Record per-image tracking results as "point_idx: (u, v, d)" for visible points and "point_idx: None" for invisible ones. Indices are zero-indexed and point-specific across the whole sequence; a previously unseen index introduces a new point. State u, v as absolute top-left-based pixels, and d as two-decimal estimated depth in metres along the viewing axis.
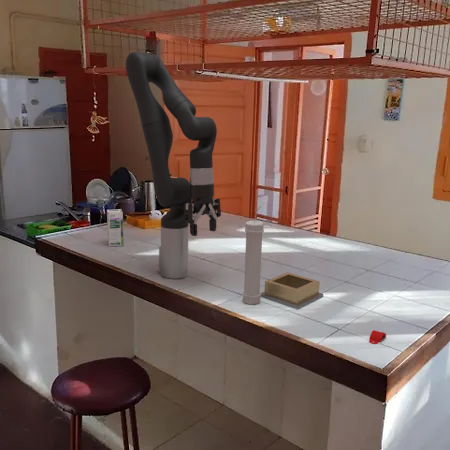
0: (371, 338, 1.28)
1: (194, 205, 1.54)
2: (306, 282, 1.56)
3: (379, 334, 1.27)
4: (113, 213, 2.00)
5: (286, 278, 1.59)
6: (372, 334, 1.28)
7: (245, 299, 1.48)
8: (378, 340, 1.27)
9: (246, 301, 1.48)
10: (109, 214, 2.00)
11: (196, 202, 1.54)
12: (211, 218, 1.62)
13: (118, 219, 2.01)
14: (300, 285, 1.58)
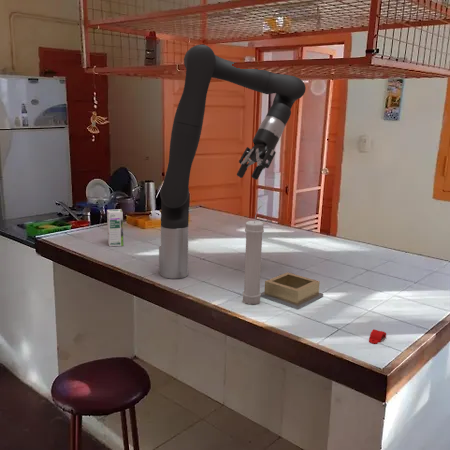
0: (371, 337, 1.28)
1: None
2: (306, 282, 1.56)
3: (379, 333, 1.27)
4: (113, 213, 2.00)
5: (286, 278, 1.59)
6: (372, 333, 1.28)
7: (245, 299, 1.48)
8: (378, 339, 1.27)
9: (246, 301, 1.48)
10: (109, 214, 2.00)
11: None
12: (244, 165, 1.64)
13: (118, 219, 2.01)
14: (300, 285, 1.58)
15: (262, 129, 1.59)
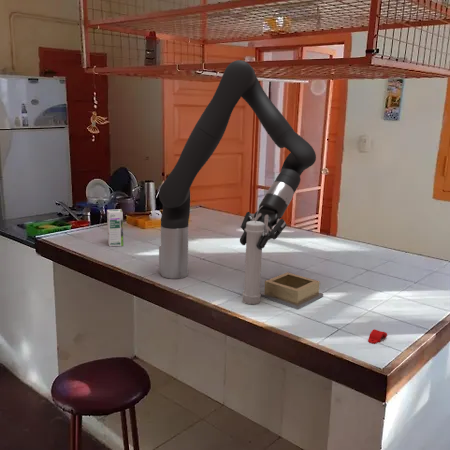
0: (371, 337, 1.28)
1: None
2: (306, 282, 1.56)
3: (379, 333, 1.27)
4: (113, 213, 2.00)
5: (286, 278, 1.59)
6: (372, 333, 1.28)
7: (245, 299, 1.48)
8: (377, 339, 1.27)
9: (246, 301, 1.48)
10: (109, 214, 2.00)
11: None
12: None
13: (118, 219, 2.01)
14: (300, 285, 1.58)
15: (274, 195, 1.47)
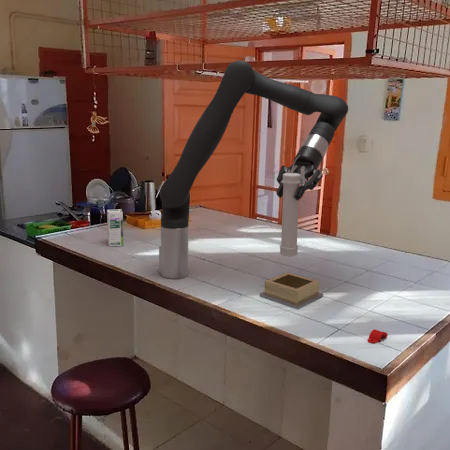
0: (370, 337, 1.28)
1: None
2: (306, 282, 1.56)
3: (379, 333, 1.27)
4: (113, 213, 2.00)
5: (286, 278, 1.59)
6: (372, 333, 1.28)
7: (283, 251, 1.49)
8: (377, 339, 1.27)
9: (284, 253, 1.49)
10: (109, 214, 2.00)
11: None
12: None
13: (118, 219, 2.01)
14: (300, 285, 1.58)
15: (310, 147, 1.48)
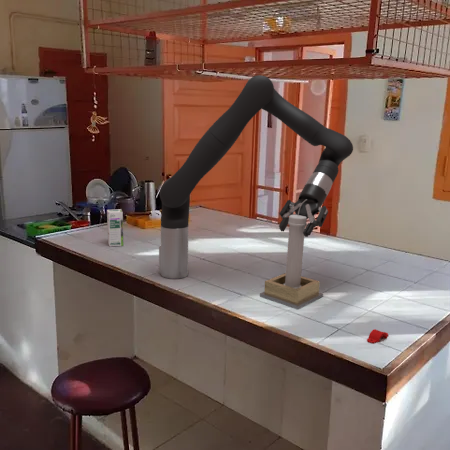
0: (370, 337, 1.28)
1: None
2: (306, 282, 1.56)
3: (378, 333, 1.27)
4: (113, 213, 2.00)
5: None
6: (372, 333, 1.28)
7: None
8: (376, 339, 1.27)
9: None
10: (109, 214, 2.00)
11: None
12: (287, 218, 1.53)
13: (118, 219, 2.01)
14: None
15: (314, 185, 1.52)
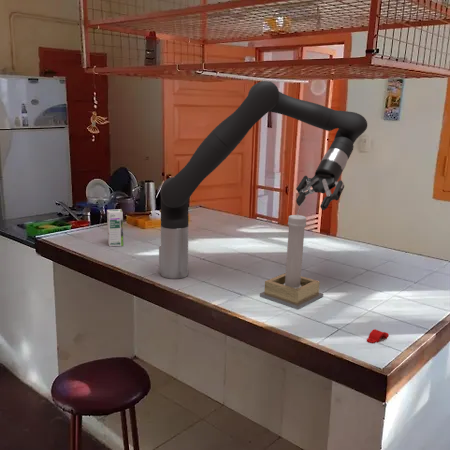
0: (370, 336, 1.28)
1: None
2: (306, 282, 1.56)
3: (378, 333, 1.27)
4: (113, 213, 2.00)
5: None
6: (371, 333, 1.28)
7: None
8: (376, 339, 1.27)
9: None
10: (109, 214, 2.00)
11: None
12: (304, 193, 1.58)
13: (118, 219, 2.01)
14: None
15: (331, 160, 1.56)
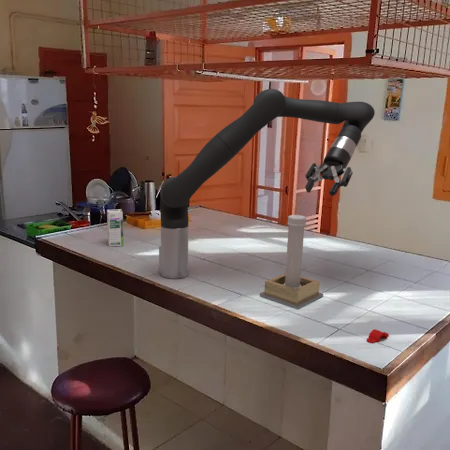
0: (370, 336, 1.28)
1: None
2: (306, 282, 1.56)
3: (378, 333, 1.27)
4: (113, 213, 2.00)
5: None
6: (371, 333, 1.28)
7: None
8: (376, 339, 1.27)
9: None
10: (109, 214, 2.00)
11: None
12: (312, 180, 1.60)
13: (118, 219, 2.01)
14: None
15: (339, 148, 1.59)
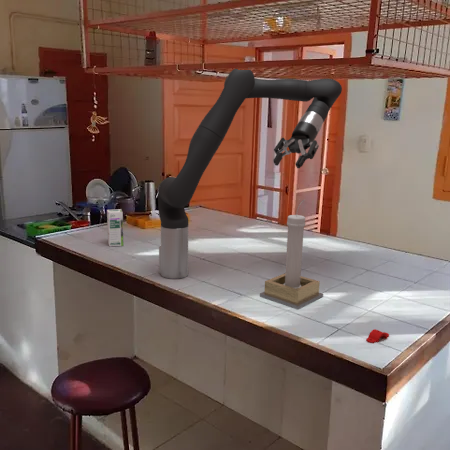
0: (370, 336, 1.28)
1: None
2: (306, 282, 1.56)
3: (378, 333, 1.27)
4: (113, 213, 2.00)
5: None
6: (371, 333, 1.28)
7: None
8: (376, 339, 1.27)
9: None
10: (109, 214, 2.00)
11: None
12: (280, 154, 1.65)
13: (118, 219, 2.01)
14: None
15: (306, 122, 1.64)
